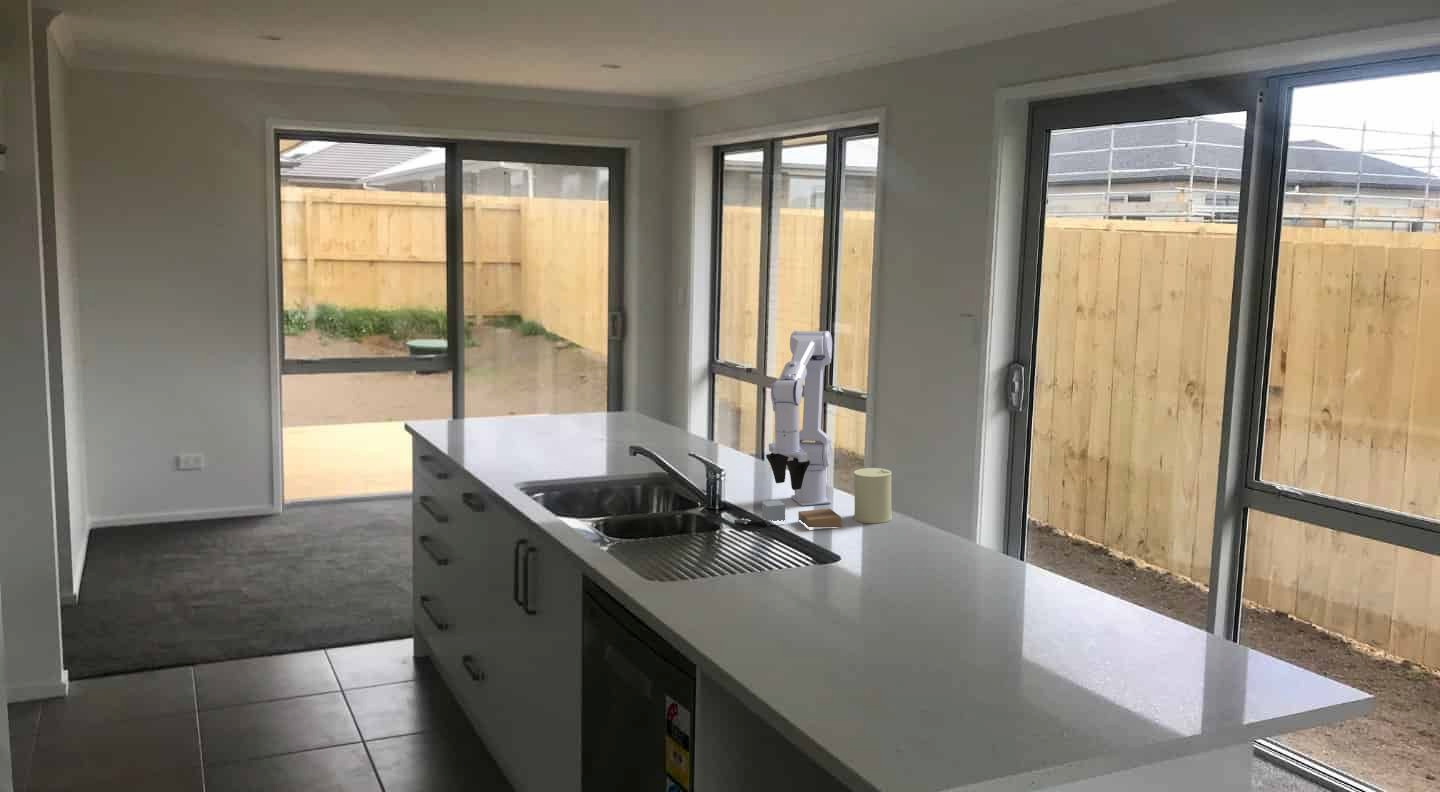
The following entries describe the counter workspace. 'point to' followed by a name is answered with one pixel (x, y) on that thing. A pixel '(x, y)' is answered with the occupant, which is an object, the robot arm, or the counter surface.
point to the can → (872, 495)
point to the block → (773, 510)
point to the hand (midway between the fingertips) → (788, 485)
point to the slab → (820, 518)
